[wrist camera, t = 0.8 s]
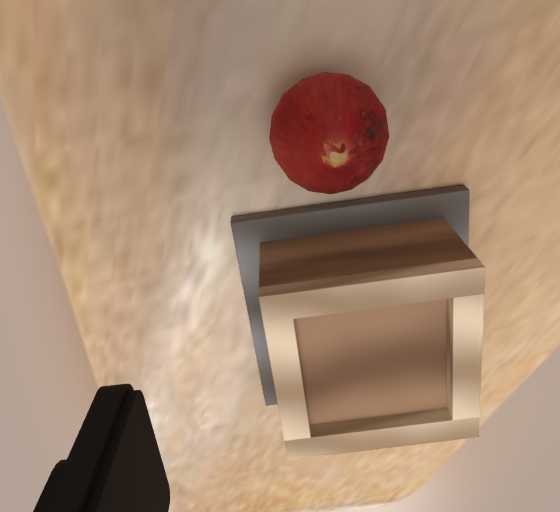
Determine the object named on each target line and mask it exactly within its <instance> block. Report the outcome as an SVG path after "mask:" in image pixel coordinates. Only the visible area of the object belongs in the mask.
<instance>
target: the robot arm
mask: <svg viewBox="0 0 560 512" xmlns="http://www.w3.org/2000/svg"><path fill="white" fill-rule="evenodd" d="M169 504H170V488H169V484H168V480H167V477H166V473H165V469H164V466H163V462H162V459H161V455H160V452H159V448H158V445H157V441H156V438H155V434H154V431H153V427H152V424H151V420H150V417H149V413H148V410H147V406H146V403H145V399H144V396H143V393H142V392H141V390H133V387H132V386H131V384H120V385H111V386H102V387H100V388H99V389H98V391H97V393H96V395H95V397H94V400H93V402H92V404H91V407H90V409H89V411H88V413H87V416H86V418H85V420H84V422H83V424H82V427H81V429H80V431H79V434H78V436H77V438H76V440H75V442H74V445H73V447H72V449H71V451H70V454H69V456H68V458H67V460H61V461H59V462H58V463H57V464H56V465H55V467H54V469H53V470H52V472H51V474H50V476H49V479H48V481H47V483H46V485H45V487H44V490H43V491H42V494H41V496H40V498H39V500H38V502H37V504H36V507H35V509H34V511H33V512H168V510H169Z"/></svg>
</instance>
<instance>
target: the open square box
mask: <svg viewBox="0 0 560 512" xmlns="http://www.w3.org/2000/svg"><path fill="white" fill-rule="evenodd" d="M231 227H232V232H233V237H234V243H235V248H236V253H237V258H238V263H239V269H240V274H241V279H242V284H243V289H244V294H245V300H246V305H247V310H248V315H249V320H250V325H251V331H252V336H253V341H254V346H255V351H256V357H257V362H258V367H259V372H260V377H261V382H262V388H263V393H264V398H265V403H266V406H267V405H275V404H278V407H279V413H280V419H281V424H282V430H283V435H284V441H285V446H286V452H287V458H288V460H292V459H301V458H309V457H317V456H325V455H334V454H342V453H350V452H358V451H367V450H375V449H383V448H391V447H400V446H408V445H416V444H424V443H433V442H441V441H449V440H457V439H466V438H474V437H479V415H480V388H481V361H482V334H483V308H484V281H485V267H484V265H483V264H482V263H481V262H480V261H479V259H478V258H477V257H476V256H475V255H474V253H473V252H472V251H471V250H470V249H469V247H468V231H469V189H468V188H467V187H465V186H464V185H457V186H450V187H443V188H436V189H429V190H421V191H414V192H407V193H400V194H393V195H385V196H378V197H371V198H364V199H356V200H349V201H342V202H335V203H328V204H320V205H313V206H306V207H299V208H292V209H284V210H277V211H270V212H263V213H256V214H248V215H241V216H234V217H232V218H231Z"/></svg>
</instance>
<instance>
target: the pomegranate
mask: <svg viewBox="0 0 560 512" xmlns="http://www.w3.org/2000/svg"><path fill="white" fill-rule="evenodd" d="M269 139H270V143H271V146H272V150H273V154H274V158H275V160H276V161H277V163H278V164H279V165H280V167H281V168H282V169H283V171H284V172H285V174H286V175H287V177H288V178H289V179H290V180H291V181H293V182H294V183H296V184H298V185H299V186H301V187H303V188H305V189H306V190H308V191H312V192H319V193H326V194H334V193H339V192H343V191H347V190H351V189H353V188H354V187H356V186H357V185H359V184H360V183H362V182H364V181H365V180H367V179H368V178H369V177H370V176H371V174H372V173H373V172H374V170H375V169H376V168H377V167H378V165H379V164H380V163H381V162H382V160H383V157H384V153H385V150H386V146H387V142H388V139H389V131H388V124H387V117H386V110H385V108H384V106H383V105H382V103H381V102H380V101H379V99H378V98H377V96H376V95H375V94H374V92H373V91H372V89H371V88H370V86H368V85H366V84H364V83H362V82H360V81H358V80H357V79H355V78H353V77H351V76H349V75H345V74H335V73H321V74H318V75H315V76H312V77H309V78H306V79H303V80H301V81H300V82H299V83H297V84H296V85H295V86H293V87H292V88H291V89H290V90H288V91H287V92H286V93H284V94H283V96H282V98H281V100H280V101H279V103H278V105H277V107H276V109H275V110H274V112H273V114H272V118H271V128H270V137H269Z"/></svg>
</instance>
